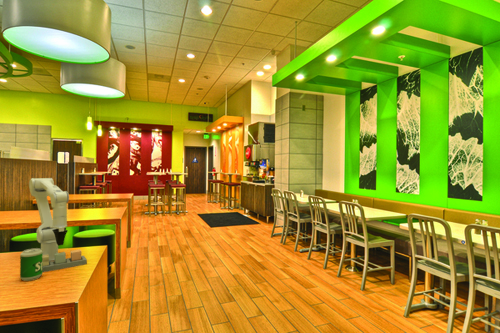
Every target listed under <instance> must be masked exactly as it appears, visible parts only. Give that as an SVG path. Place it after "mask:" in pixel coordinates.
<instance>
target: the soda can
mask: <svg viewBox="0 0 500 333" xmlns="http://www.w3.org/2000/svg"><path fill="white" fill-rule="evenodd" d="M19 255H20V260H19V278H20V279H21V281H23V282H24V281H25V282H29V281H30V282H31V281H35V280H37V279H40V277H41V276H42V275H43V272H42V266H43V251H42V250H41V248H38V247H36V248H33V247H32V248H28V249H24V250H22V252H21V253H20V254H19Z"/></svg>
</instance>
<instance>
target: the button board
mask: <svg viewBox="0 0 500 333" xmlns="http://www.w3.org/2000/svg"><path fill="white" fill-rule="evenodd" d="M87 261H88V259H87V258H86V257H85V255H81V260H75V261H71V257H68V258H66V262H64V263H58V264H55V260H52V261H49V265H47V266H42V273H48V272H52V271H56V270H58V271H59V270H62V269H68V268H74V267H78V266H84V265H87V264H88V263H87Z"/></svg>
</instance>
